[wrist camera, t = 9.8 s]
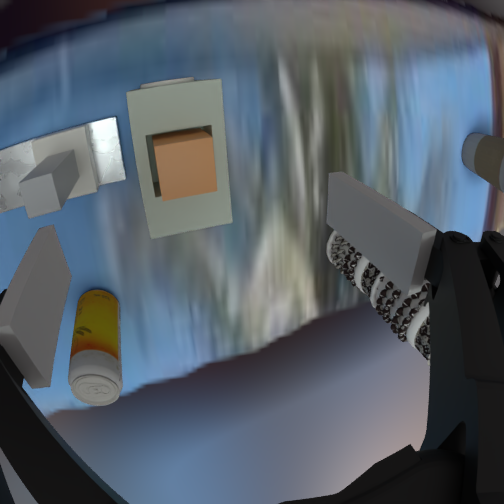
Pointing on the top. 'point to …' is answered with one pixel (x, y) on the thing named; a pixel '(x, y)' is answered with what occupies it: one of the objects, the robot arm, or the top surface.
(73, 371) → the beer can
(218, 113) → the white block
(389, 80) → the top surface
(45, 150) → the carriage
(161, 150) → the button
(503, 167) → the coffee cup
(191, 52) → the top surface
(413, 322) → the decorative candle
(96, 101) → the top surface
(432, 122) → the top surface
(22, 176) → the rail
